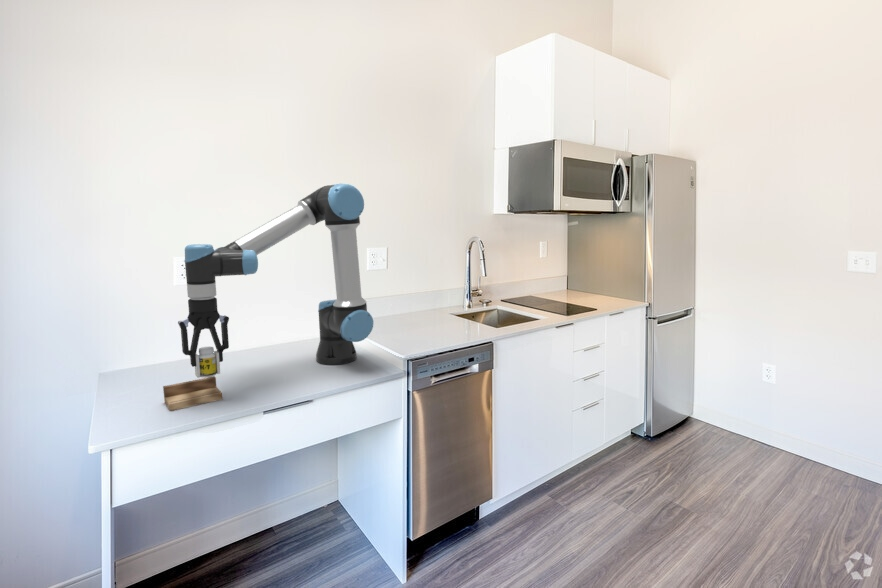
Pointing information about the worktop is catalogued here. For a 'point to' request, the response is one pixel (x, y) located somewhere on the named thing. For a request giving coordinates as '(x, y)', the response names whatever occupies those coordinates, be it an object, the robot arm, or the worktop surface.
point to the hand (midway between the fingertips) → (208, 374)
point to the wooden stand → (191, 393)
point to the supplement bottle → (207, 362)
